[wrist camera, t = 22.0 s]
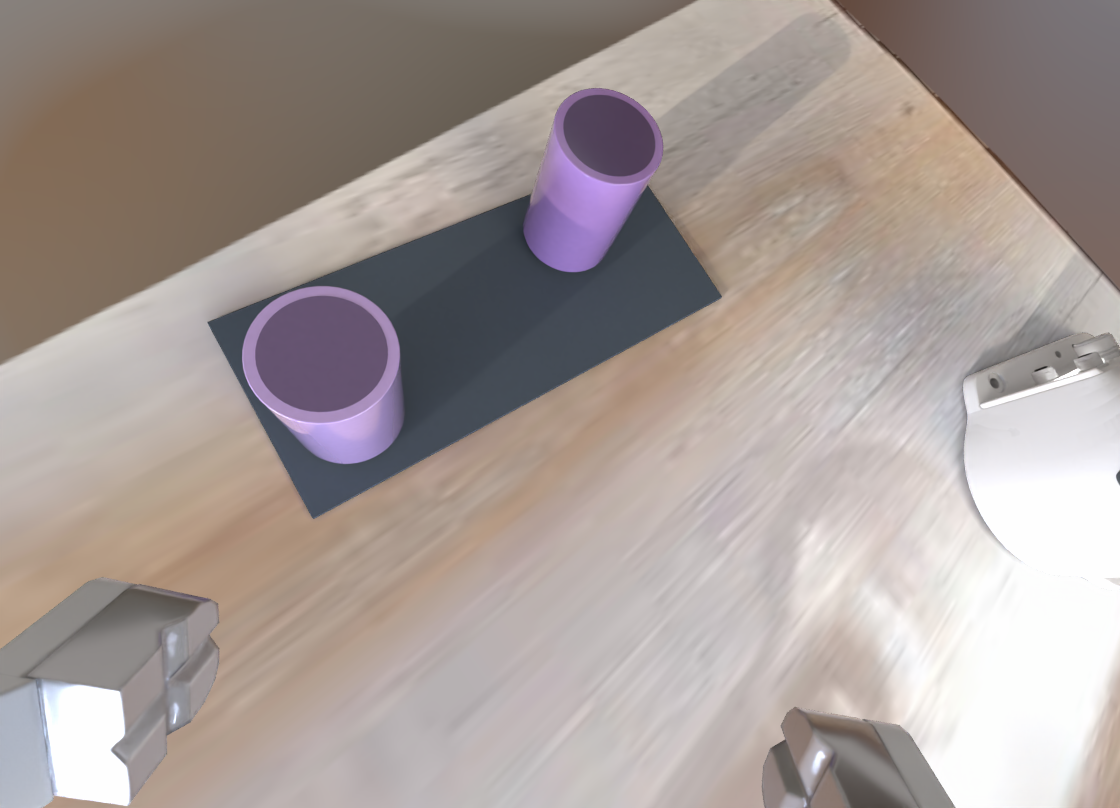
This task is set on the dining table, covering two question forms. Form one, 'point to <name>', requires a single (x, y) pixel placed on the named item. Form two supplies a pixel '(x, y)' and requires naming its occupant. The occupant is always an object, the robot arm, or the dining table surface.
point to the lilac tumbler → (328, 371)
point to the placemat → (488, 330)
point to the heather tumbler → (590, 177)
